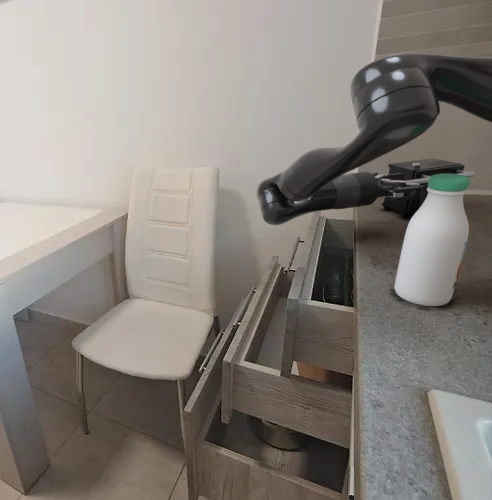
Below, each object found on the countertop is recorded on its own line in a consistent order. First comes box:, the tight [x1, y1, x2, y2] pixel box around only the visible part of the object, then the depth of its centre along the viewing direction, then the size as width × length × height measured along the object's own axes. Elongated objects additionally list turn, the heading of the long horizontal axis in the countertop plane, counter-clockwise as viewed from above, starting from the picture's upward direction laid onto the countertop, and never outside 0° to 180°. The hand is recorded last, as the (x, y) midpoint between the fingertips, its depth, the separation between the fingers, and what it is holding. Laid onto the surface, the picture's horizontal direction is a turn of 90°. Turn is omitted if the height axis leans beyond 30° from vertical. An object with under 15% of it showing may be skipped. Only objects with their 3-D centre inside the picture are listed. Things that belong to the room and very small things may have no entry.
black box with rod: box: [381, 157, 463, 219], centre depth 92 cm, size 8×12×13 cm
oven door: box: [406, 164, 476, 212], centre depth 85 cm, size 4×17×10 cm, turn 96°
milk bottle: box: [393, 174, 471, 307], centre depth 57 cm, size 8×8×20 cm
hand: (417, 181), depth 82 cm, fingers open, 8 cm apart
